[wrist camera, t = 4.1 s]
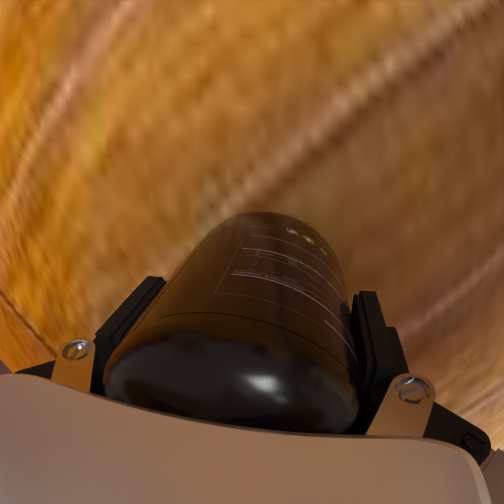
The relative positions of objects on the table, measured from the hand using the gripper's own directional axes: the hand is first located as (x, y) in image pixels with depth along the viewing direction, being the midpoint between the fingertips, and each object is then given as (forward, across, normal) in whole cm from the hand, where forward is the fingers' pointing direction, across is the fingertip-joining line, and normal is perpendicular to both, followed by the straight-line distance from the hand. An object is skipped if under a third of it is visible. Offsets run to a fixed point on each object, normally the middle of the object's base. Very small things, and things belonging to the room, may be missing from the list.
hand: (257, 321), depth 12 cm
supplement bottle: (+3, 0, 0) cm, 3 cm away
